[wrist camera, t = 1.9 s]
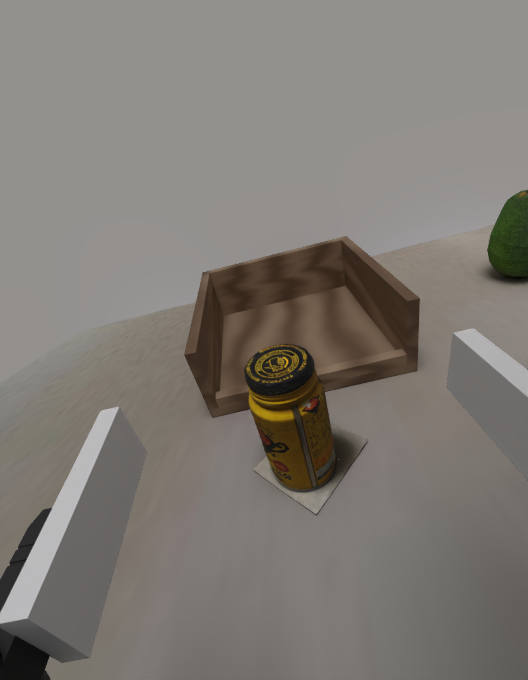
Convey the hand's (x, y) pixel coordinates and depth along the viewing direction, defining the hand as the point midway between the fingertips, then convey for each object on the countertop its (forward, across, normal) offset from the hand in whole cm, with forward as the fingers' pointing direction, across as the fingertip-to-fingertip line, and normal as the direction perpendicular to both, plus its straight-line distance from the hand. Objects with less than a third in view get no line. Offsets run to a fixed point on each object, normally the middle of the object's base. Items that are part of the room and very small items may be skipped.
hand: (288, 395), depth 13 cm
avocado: (+33, +37, -16) cm, 52 cm away
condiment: (+10, +1, -17) cm, 20 cm away
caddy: (+30, +3, -17) cm, 34 cm away
